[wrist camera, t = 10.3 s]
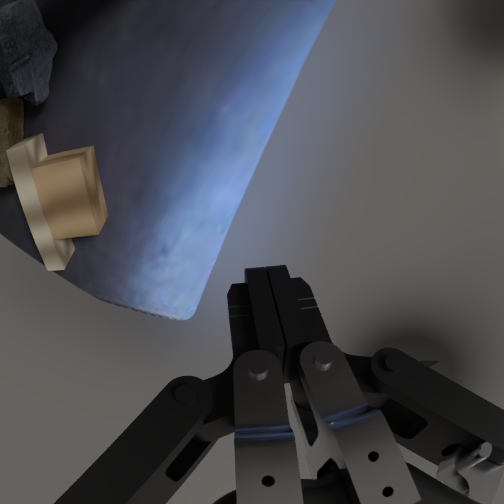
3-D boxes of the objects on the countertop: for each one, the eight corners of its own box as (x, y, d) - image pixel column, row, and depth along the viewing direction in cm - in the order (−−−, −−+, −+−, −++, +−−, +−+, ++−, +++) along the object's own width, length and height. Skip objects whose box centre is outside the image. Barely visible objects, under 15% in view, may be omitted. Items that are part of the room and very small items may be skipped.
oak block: (48, 154, 31) (31, 168, 27) (93, 145, 32) (79, 157, 28) (66, 220, 37) (53, 239, 33) (108, 214, 38) (98, 234, 34)
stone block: (1, 175, 31) (-18, 190, 27) (-5, 99, 24) (-26, 107, 20) (29, 174, 32) (12, 190, 28) (26, 93, 25) (5, 100, 21)
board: (25, 138, 29) (6, 150, 25) (42, 132, 29) (23, 144, 25) (59, 250, 39) (47, 270, 35) (75, 248, 39) (64, 269, 35)
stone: (78, 81, 26) (36, 93, 18) (42, 106, 27) (-3, 126, 19) (47, -4, 18) (2, -13, 10) (12, 24, 19) (-36, 25, 11)
